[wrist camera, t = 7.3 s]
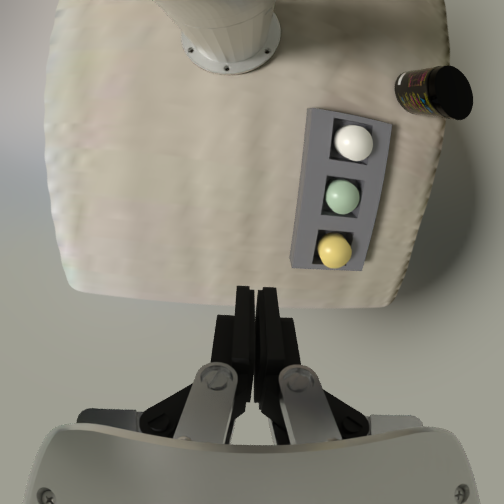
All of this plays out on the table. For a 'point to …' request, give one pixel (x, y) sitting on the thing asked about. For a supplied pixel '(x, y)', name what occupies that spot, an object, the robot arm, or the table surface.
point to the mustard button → (334, 250)
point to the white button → (353, 142)
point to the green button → (341, 195)
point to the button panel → (325, 169)
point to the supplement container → (435, 92)
